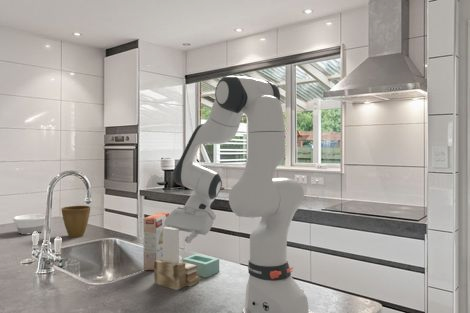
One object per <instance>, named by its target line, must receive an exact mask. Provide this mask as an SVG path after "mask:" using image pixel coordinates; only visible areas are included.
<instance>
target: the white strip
mask: <svg viewBox="0 0 470 313" xmlns="http://www.w3.org/2000/svg"><path fill="white" fill-rule="evenodd" d="M179 232H180V230H179V229H177V228H171V227H164V228H163V262H167V263H171V264H175V265H177V264H179V261H180V237H179V236H180V234H179Z"/></svg>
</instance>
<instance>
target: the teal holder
mask: <svg viewBox="0 0 470 313" xmlns="http://www.w3.org/2000/svg"><path fill="white" fill-rule="evenodd" d="M182 262H185V263H189V264H193V265H197V271H196V274H197V276H199V277H202V278H208V277H210V276H213V275H214V274H217V273H219V272H220V258H216V257H212V256H207V255H203V254H200V253H195V254H193V255H190V256H187V257H184V258H182Z"/></svg>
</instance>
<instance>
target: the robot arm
mask: <svg viewBox="0 0 470 313" xmlns="http://www.w3.org/2000/svg"><path fill="white" fill-rule="evenodd" d="M214 92H215V93H214V95H215V100H214V101H213V104H212V106H211V109H210V113H209V116H208V118H207V120H206V121H205V122H204V123H201V124H199V125H198V126H196V128H195V129H194V130H193V132H192V133H191V136H190V137H189V140H188V141H187V142H188V143H187V144H186V146H185V148H184V151H183V152H182V154H181V157H180V158H179V160H178V162H177V164H176V165H175V167H174V169H173V171H172V178H173V181H174V182H175V184H176V185H179V186H182V187H184V188H188V189H190V190H192V191H193V193H192V194H191V195H190V196H189V198H188V199H187V201H186V202H185V205H184V206H183V207H180V206H179V207H177V208H174V209H173V210H172V211H171V212H170V213H169V216H168V217H167V218H166V220H165V225H166V226H167V227H171V228H177V229H179V232H180V231H181V232H186V233H189V235H187V236H186V237H185V238H184V242H186V243H187V244H190V243H191V242H192V241H193V240H194V239H195V238H197V237H198V235H203V236H206V235H207V234H208V233H209V232H210V230H211V229H212V227H213V224H214V221H215V219H216V218H217V215H216V214H215V212H214V211H213V210H212V208H211V205H212V203H213V202H214V201H215V199H216V198H217V197H218V195H219V194H220V192H221V189H222V187H223V180H222V179H221V176H220V174H219V173H217V172H216V171H214V170H211V169H209V168H206V167H204V166H202V165H200V164H198V163H195V161H194V158H195V156H196V154H197V152H198V150H199V148H200V147H201V145H204V144H206V145H207V144H209V145H211V144H213V145H219V144H225V143H228V142H230V141H232V140H234V138H235V137H236V134H238V130H239V128H240V125H241V121H242V119H243V118H242V117H243V115H246V117H247V159H246V164H245V166H244V170H243V173H242V174H241V176H240V178H239V179H238V181H237V182H235V184H234V185H233V186H231V189H230V190H229V195H228V204H229V207H230V209H231V210H232V212H233V213H234V214H235V215H236V216H237V217H241V218H249V219H250V218H251V219H255V218H261V219H260V221H259V223H258V225H257V226H256V227H255V228H254V229H253V230H252V231H251V233H250V235H249V260H248V264H247V267H248V268H247V269H248V274H249V276H248V277H249V278H248V281H247V284H246V290H245V298H244V299H245V301H244V307H243V309H242V311H241V313H315V312H314V311H312V309H310V308H309V300H308V297H307V295H306V293H305V291H304V289H303V288H301V286H299V285H298V283H297V282H296V281H295V279H294V278H293V277H292V272H293V269H294V267H290V265H289V262H288V260H287V252H288V251H287V249H288V248H287V247H288V246H287V245H288V244H287V242H288V234H289V229H290V226H291V223H292V221H293V218H294V215H295V213H296V212H297V211H298V209H299V208H301V206H302V205H303V203H304V200H305V191H304V189H303V186H302V184H301V183H300V182H299V181H298V180H297V179H292V178H289V177H274V175H275V171H276V169H277V167H278V166H280V165H281V164H282V163H283V161H284V160H285V157H286V135H285V134H286V133H285V131H286V129H285V128H286V126H285V118H284V112H283V107H282V103H281V101H280V100H281V93H280V92H281V91H280V90H279V87H278V86H277V85H276V84H275V83H273V82H271V81H269V80H263V79H258V78H253V77H249V76H236V75H228V76H223V77H222V78H220V79H219V80H218V82H217V84H216V86H215V90H214Z"/></svg>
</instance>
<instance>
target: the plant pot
mask: <svg viewBox="0 0 470 313" xmlns="http://www.w3.org/2000/svg"><path fill="white" fill-rule="evenodd" d="M61 214H62V215H61V216H62V221H63V224H64V227H65V230H66V233H67V236H68V237H69V238H81V237H83V236H84V235H85V233H86V232H85V231H86V229H87V227H88V222H89V218H90V214H91V206H90V205H71V206H70V205H69V206H64V207H61Z"/></svg>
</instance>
